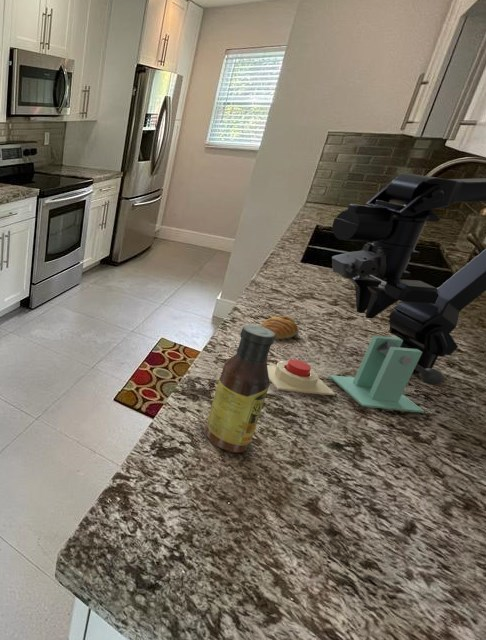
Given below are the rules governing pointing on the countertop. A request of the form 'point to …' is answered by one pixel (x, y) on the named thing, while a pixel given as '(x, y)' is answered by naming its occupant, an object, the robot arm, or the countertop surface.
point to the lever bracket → (383, 376)
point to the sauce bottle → (241, 391)
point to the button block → (296, 380)
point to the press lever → (418, 368)
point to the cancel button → (298, 368)
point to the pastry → (281, 326)
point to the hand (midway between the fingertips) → (364, 315)
